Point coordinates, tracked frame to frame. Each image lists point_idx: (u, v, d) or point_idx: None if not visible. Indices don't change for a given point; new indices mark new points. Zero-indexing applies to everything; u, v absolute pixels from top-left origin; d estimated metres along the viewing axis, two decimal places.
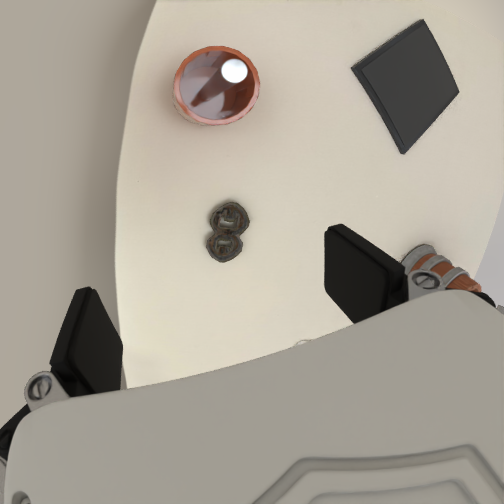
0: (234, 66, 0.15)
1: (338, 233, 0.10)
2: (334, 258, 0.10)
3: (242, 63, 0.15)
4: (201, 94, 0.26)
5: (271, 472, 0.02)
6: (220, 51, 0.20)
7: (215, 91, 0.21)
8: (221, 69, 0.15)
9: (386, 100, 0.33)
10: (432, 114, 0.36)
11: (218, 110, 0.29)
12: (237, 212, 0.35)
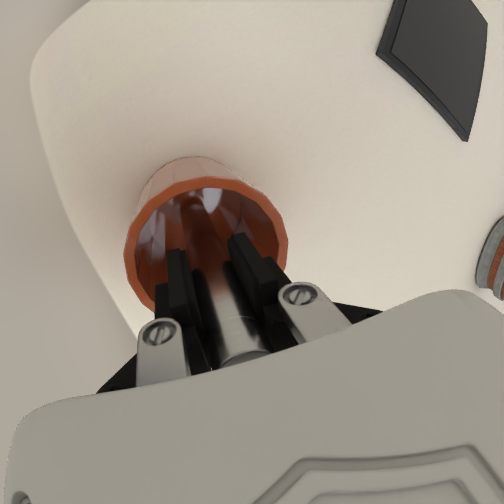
0: None
1: (235, 242, 0.11)
2: (234, 266, 0.11)
3: (257, 354, 0.07)
4: None
5: (271, 472, 0.02)
6: None
7: None
8: None
9: (433, 82, 0.19)
10: (478, 70, 0.19)
11: (223, 227, 0.20)
12: None
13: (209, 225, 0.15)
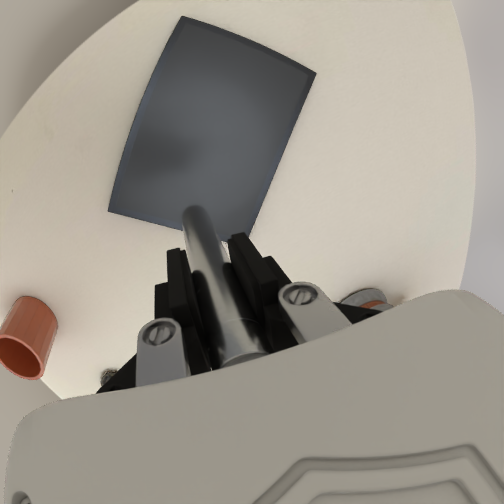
0: None
1: (235, 242, 0.11)
2: (234, 266, 0.11)
3: (257, 357, 0.07)
4: None
5: (271, 472, 0.02)
6: (0, 337, 0.21)
7: None
8: None
9: (173, 211, 0.29)
10: (269, 158, 0.29)
11: None
12: None
13: (209, 226, 0.15)
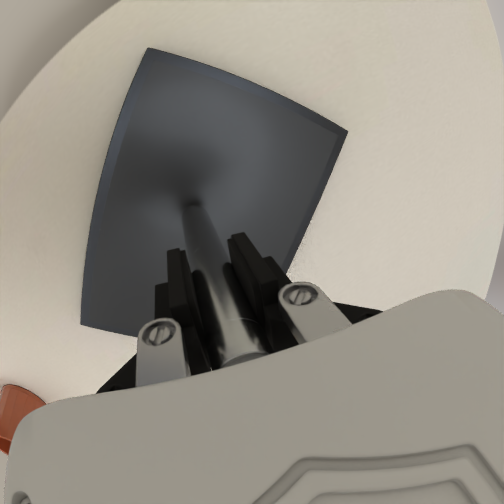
0: None
1: (235, 242, 0.11)
2: (234, 266, 0.11)
3: (257, 357, 0.07)
4: None
5: (271, 472, 0.02)
6: None
7: None
8: None
9: None
10: (279, 257, 0.23)
11: None
12: None
13: (209, 226, 0.15)
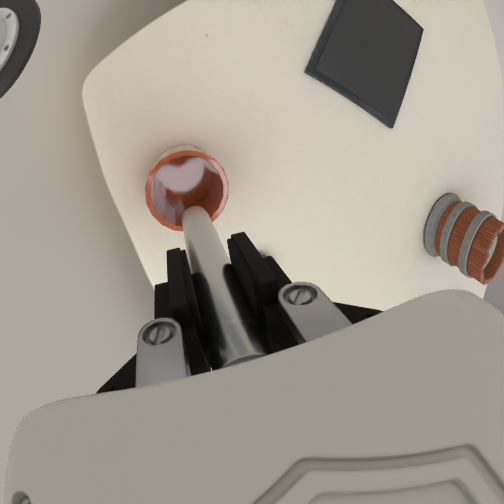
0: None
1: (235, 242, 0.11)
2: (234, 266, 0.11)
3: None
4: None
5: (271, 472, 0.02)
6: (171, 159, 0.23)
7: None
8: None
9: (354, 85, 0.31)
10: (405, 70, 0.32)
11: (201, 187, 0.32)
12: None
13: (209, 227, 0.15)
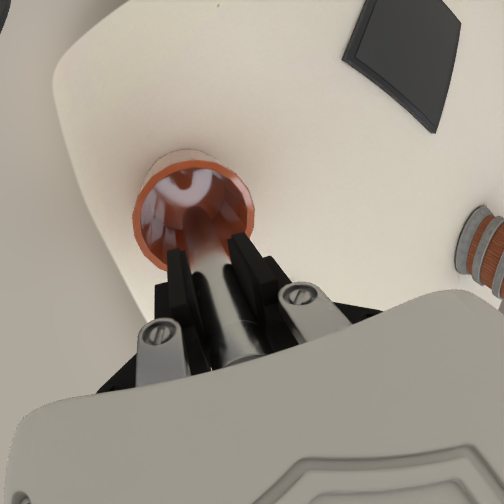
0: None
1: (235, 242, 0.11)
2: (234, 266, 0.11)
3: None
4: None
5: (271, 472, 0.02)
6: None
7: None
8: None
9: (397, 80, 0.23)
10: (447, 67, 0.24)
11: (210, 206, 0.24)
12: None
13: (210, 227, 0.15)
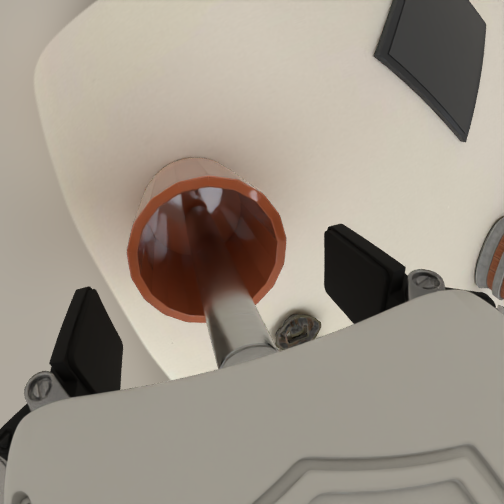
0: None
1: (338, 233, 0.10)
2: (334, 258, 0.10)
3: (259, 349, 0.07)
4: None
5: (271, 472, 0.02)
6: None
7: None
8: None
9: (431, 83, 0.19)
10: (476, 71, 0.20)
11: (224, 226, 0.21)
12: (303, 320, 0.27)
13: (212, 227, 0.15)
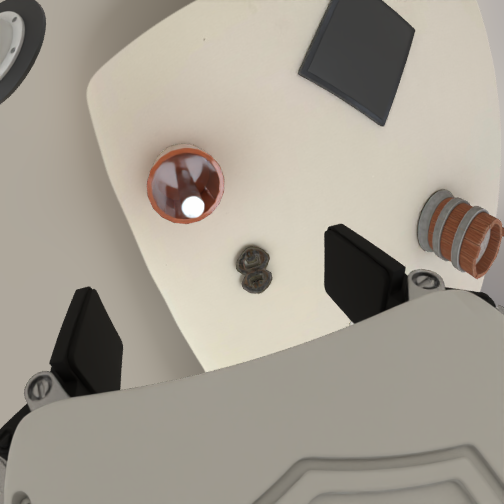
0: (190, 204, 0.21)
1: (338, 233, 0.10)
2: (334, 258, 0.10)
3: (195, 198, 0.21)
4: None
5: (271, 472, 0.02)
6: (171, 156, 0.25)
7: None
8: (182, 211, 0.21)
9: (345, 86, 0.33)
10: (397, 70, 0.33)
11: (199, 183, 0.34)
12: (255, 252, 0.40)
13: (189, 176, 0.28)
